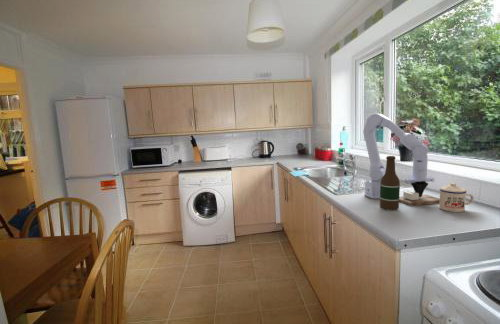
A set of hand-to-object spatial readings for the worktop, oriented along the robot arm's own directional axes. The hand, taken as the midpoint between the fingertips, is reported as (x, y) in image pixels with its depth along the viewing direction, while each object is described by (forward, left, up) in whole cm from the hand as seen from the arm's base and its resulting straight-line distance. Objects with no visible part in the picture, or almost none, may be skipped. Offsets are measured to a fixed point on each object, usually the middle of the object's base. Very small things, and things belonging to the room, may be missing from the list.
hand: (418, 196), depth 121 cm
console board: (0, 0, -2) cm, 2 cm away
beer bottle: (-20, -5, -3) cm, 21 cm away
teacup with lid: (+5, -14, -3) cm, 15 cm away
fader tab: (-4, 0, 0) cm, 4 cm away
